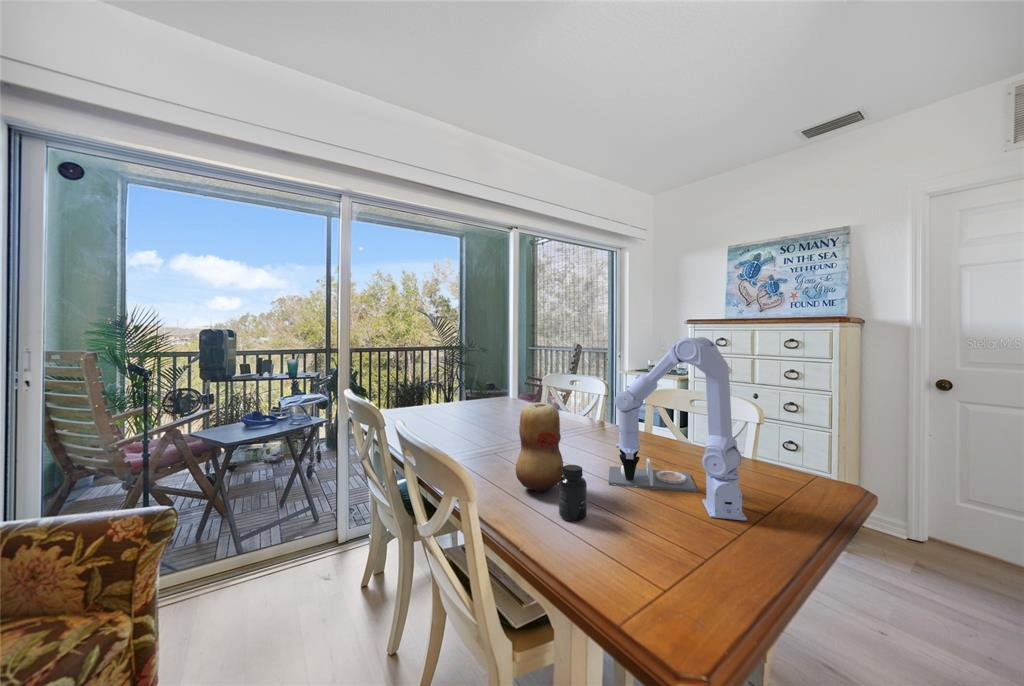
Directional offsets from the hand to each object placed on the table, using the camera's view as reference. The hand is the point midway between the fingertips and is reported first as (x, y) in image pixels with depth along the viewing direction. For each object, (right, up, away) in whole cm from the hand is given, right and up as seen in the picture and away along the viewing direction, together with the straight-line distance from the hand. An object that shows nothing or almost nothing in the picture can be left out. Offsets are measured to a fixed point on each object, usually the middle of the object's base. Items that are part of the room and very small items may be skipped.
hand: (629, 475), depth 116 cm
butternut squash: (-27, -3, -5) cm, 28 cm away
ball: (0, +1, 0) cm, 2 cm away
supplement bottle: (-20, -3, -21) cm, 30 cm away
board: (+7, -2, +1) cm, 7 cm away
